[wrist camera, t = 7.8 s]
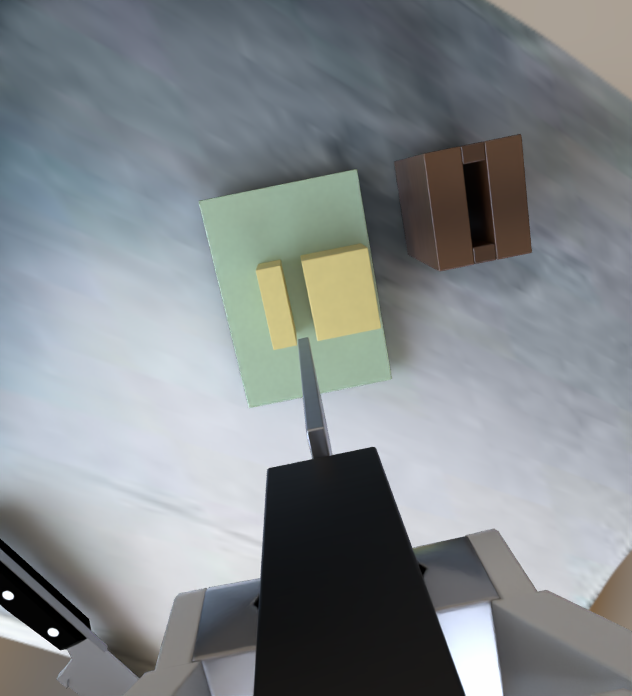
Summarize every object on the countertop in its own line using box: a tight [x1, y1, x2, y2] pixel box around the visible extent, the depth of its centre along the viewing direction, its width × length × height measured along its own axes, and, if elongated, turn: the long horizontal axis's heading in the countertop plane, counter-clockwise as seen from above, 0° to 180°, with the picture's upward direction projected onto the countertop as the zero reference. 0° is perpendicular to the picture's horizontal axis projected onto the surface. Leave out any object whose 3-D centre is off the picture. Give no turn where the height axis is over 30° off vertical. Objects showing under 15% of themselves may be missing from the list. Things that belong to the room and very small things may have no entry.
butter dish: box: [199, 169, 392, 408], centre depth 37 cm, size 14×10×1 cm
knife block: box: [394, 134, 532, 271], centre depth 33 cm, size 6×5×8 cm
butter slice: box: [256, 260, 297, 350], centre depth 35 cm, size 5×2×3 cm, turn 11°
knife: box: [253, 337, 466, 696], centre depth 13 cm, size 4×2×15 cm
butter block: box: [300, 243, 381, 341], centre depth 35 cm, size 5×4×3 cm
